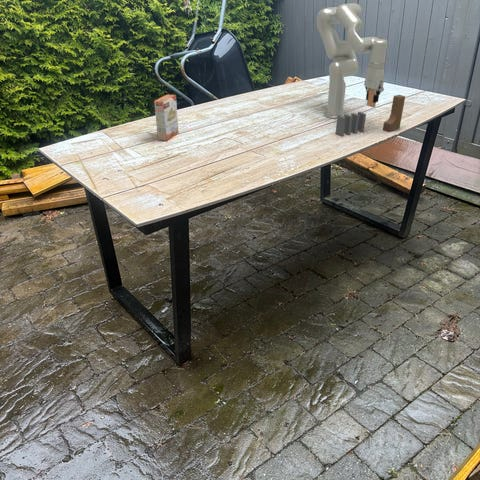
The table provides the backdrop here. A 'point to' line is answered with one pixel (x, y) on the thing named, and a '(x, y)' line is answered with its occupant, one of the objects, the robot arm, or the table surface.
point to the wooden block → (395, 114)
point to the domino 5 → (371, 98)
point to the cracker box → (166, 117)
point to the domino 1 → (340, 125)
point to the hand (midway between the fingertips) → (371, 100)
